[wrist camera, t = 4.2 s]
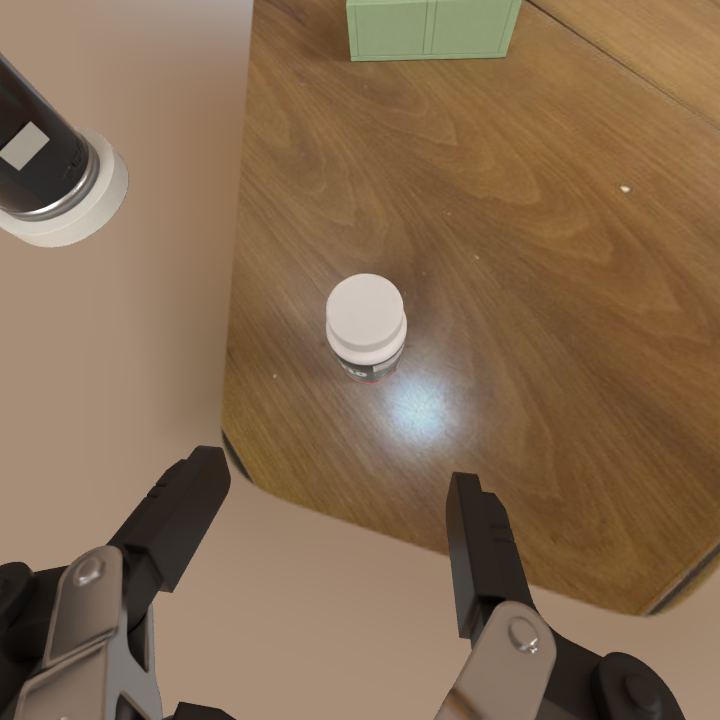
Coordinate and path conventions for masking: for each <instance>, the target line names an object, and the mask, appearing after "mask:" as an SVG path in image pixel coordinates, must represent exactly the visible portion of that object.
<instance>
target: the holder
mask: <svg viewBox="0 0 720 720" xmlns="http://www.w3.org/2000/svg"><path fill="white" fill-rule="evenodd" d="M521 3H522V0H347V2H346V11H347V22H348V33H349V43H350V54H351V61H387V60H425V59H463V58H501V57H505V56H506V52H507V50H508V46H509V43H510V40H511V36H512V33H513V30H514V26H515V23H516V20H517V16H518V13H519V9H520V6H521Z"/></svg>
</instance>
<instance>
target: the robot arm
mask: <svg viewBox="0 0 720 720" xmlns="http://www.w3.org/2000/svg"><path fill="white" fill-rule="evenodd" d="M99 169H100V160H99V156H98V153H97V151H96V149H95V148H94V147H93V146H92V145H91V144H90V143H89V142H88V140H87V139H86V138H85V137H84V136H83V135H82V134H80V133H79V132H78V131H76V130H75V129H74V128H73V127H72V126H71V125H70V124H69V123H68V121H66V119H65V118H64V117H63V116H62V115H61V114H60V113H59V112H58V111H57V110H56V109H55V108H54V107H53V106H52V105H51V104H50V103H49V102H48V101H47V100H46V99H45V98H44V97H43V95H42V94H40V92H39V91H38V90H37V89H35V87H34V86H33V85H32V84H31V83H30V82H29V81H28V80H27V79H26V78H25V77H24V76H23V75H22V74H21V73H20V72H19V71H18V70H17V69H16V68H15V67H14V66H13V65H12V63H11V62H10V61H9V60H8V59H7V58H6V57H5V56H4V55H3V54H2V53H1V52H0V209H1V210H2V211H4V212H6V213H7V214H9V215H10V216H12V217H14V218H16V219H18V220H22V221H27V222H38V221H45V220H49V219H52V218H55V217H58V216H60V215H62V214H64V213H66V212H67V211H69V210H71V209H72V208H74V207H75V206H76V205H77V204H79V203H80V202H81V201H82V200H83V199H84V198H85V197H86V196H87V195H88V193H89V192H90V191H91V189H92V188H93V186H94V184H95V182H96V180H97V177H98V174H99ZM230 482H231V477H230V473H229V469H228V466H227V462H226V458H225V454H224V451H223V449H222V448H220V447H210V446H198V447H196V448H195V450H194V451H193V452H192V453H191V455H190V456H189V457H188V459H187V460H184V459H181V460H180V461H178V462H177V463H176V464H174V465H173V466H172V467H170V468H169V469H168V470H166V472H165V473H164V474H163V476H161V478H160V479H159V480H158V481H157V483H156V486H153V488H152V489H151V490H150V491H149V493H148V494H147V497H145V498H144V499H143V500H142V501H141V503H140V504H139V505H138V506H137V508H136V509H135V510H134V511H133V512H132V514H131V515H130V516H129V517H128V519H127V520H126V521H125V522H124V524H123V525H122V526H121V528H120V529H119V530H118V531H117V532H116V534H115V535H114V536H113V537H112V539H111V540H110V541H109V542H108V543H107V544H106V545H105V546H101V547H97V548H94V549H92V550H90V551H88V552H86V553H84V554H83V555H82V556H80V557H78V558H77V559H76V560H75V561H74V562H72V564H71V565H68V566H63V567H58V568H53V569H48V570H42V571H38V572H33V571H32V570H31V569H30V568H29V567H28V566H27V565H26V564H25V563H23V562H11V563H7V564H4V565H1V566H0V720H236V719H234V718H233V717H231V716H230V715H228V714H227V713H225V712H224V711H223V710H221V709H218V708H212V707H207V706H201V705H196V704H191V703H185V702H179V704H178V706H177V709H176V711H175V713H174V715H171V716H168V717H166V718H163V713H162V703H161V697H160V693H159V689H158V686H157V682H156V677H155V657H154V626H153V605H152V601H153V599H154V597H155V595H156V594H157V592H158V591H163V592H170V593H172V592H173V590H174V589H175V587H176V585H177V584H178V582H179V580H180V578H181V576H182V574H183V573H184V571H185V569H186V567H187V565H188V564H189V562H190V560H191V558H192V557H193V555H194V553H195V551H196V549H197V548H198V546H199V544H200V542H201V540H202V539H203V537H204V535H205V533H206V531H207V530H208V528H209V526H210V524H211V522H212V521H213V519H214V517H215V515H216V514H217V511H218V510H219V508H220V506H221V505H222V503H223V501H224V499H225V497H226V496H227V494H228V491H229V488H230ZM446 525H447V534H448V543H449V551H450V560H451V568H452V577H453V586H454V595H455V604H456V612H457V621H458V630H459V637H460V638H466V639H470V640H471V647H472V652H471V654H470V656H469V657H468V659H467V661H466V663H465V665H464V667H463V669H462V670H461V672H460V674H459V676H458V678H457V680H456V682H455V683H454V685H453V687H452V688H451V690H450V691H449V693H448V694H447V696H446V698H445V700H444V701H443V703H442V706H441V707H440V709H439V710H438V712H437V714H436V716H435V718H434V720H685V718H684V715H683V713H682V711H681V709H680V707H679V705H678V703H677V701H676V699H675V697H674V695H673V694H672V692H671V691H670V689H669V688H668V686H667V685H666V684H665V683H664V681H663V680H662V679H661V678H660V677H659V676H658V675H657V674H656V673H655V672H654V671H653V670H652V669H651V668H650V667H649V666H647V665H646V664H645V663H643V662H642V661H640V660H638V659H637V658H635V657H633V656H631V655H629V654H625V653H622V652H612V653H609V654H607V655H606V656H605V657H601V656H599V655H597V654H595V653H593V652H591V651H589V650H587V649H585V648H583V647H581V646H579V645H577V644H575V643H573V642H571V641H569V640H568V639H566V638H564V637H562V636H561V635H560V634H558V633H557V632H556V631H554V630H553V629H552V628H551V627H550V626H549V625H548V624H547V623H546V622H545V621H544V619H543V618H542V617H541V615H540V614H539V612H538V611H537V609H536V607H535V605H534V603H533V600H532V598H531V594H530V591H529V588H528V584H527V581H526V577H525V574H524V571H523V567H522V564H521V560H520V557H519V554H518V550H517V547H516V543H514V537H513V533H512V530H511V529H510V523H509V520H508V516H507V513H506V509H505V507H504V506H503V505H502V503H501V502H500V501H499V499H498V498H497V496H496V495H495V494H494V493H488V492H482V490H481V486H480V481H479V478H478V475H477V474H472V473H462V472H453V474H452V477H451V482H450V487H449V491H448V496H447V501H446Z"/></svg>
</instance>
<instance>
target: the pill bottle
mask: <svg viewBox="0 0 720 720" xmlns="http://www.w3.org/2000/svg"><path fill="white" fill-rule="evenodd" d="M326 317H327V321H326V333H327V338H328V341H329V343H330V346H331V347H332V349H333V351H334V353H335V355H336V357H337V359H338V361H339V362H340V364H341V366H342V368H343V370H344V371H345V372H346V374H347V375H349V376H350V377H351V378H352V379H354V380H356V381H358V382H361V383H367V384H372V383H378V382H381V381H384V380H386V379H388V378H389V377H390V376H392V375H393V374H394V373H395V371H396V370H397V369H398V367H399V365H400V362H401V359H402V354H403V348H404V343H405V337H406V332H407V320H406V315H405V312H404V310H403V301H402V298H401V295H400V293H399V291H398V290H397V288H396V287H395V286H394V285H393V284H392V283H391V282H390V281H388V280H387V279H385V278H383V277H381V276H378V275H374V274H357V275H354V276H351V277H349V278H346V279H345V280H343V281H342V282H340V283H339V284H338V285H337V286H336V287H335V288H334V289H333V291H332V292H331V294H330V296H329V298H328V301H327V305H326Z"/></svg>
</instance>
